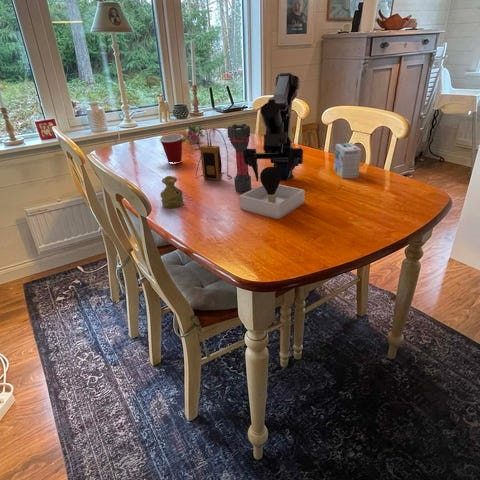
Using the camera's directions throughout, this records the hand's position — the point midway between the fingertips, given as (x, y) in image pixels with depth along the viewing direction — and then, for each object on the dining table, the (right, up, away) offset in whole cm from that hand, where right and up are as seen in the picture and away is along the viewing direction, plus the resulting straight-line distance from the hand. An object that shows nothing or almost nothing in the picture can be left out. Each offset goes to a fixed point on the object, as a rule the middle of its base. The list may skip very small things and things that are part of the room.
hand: (271, 180), depth 113 cm
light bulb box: (+32, +7, +29) cm, 44 cm away
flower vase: (-36, +35, +87) cm, 101 cm away
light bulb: (+1, -7, +5) cm, 9 cm away
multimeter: (-19, +8, +35) cm, 41 cm away
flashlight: (-9, 0, +20) cm, 22 cm away
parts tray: (+1, -7, +6) cm, 9 cm away
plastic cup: (-40, +17, +55) cm, 70 cm away
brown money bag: (-33, -6, +11) cm, 35 cm away
